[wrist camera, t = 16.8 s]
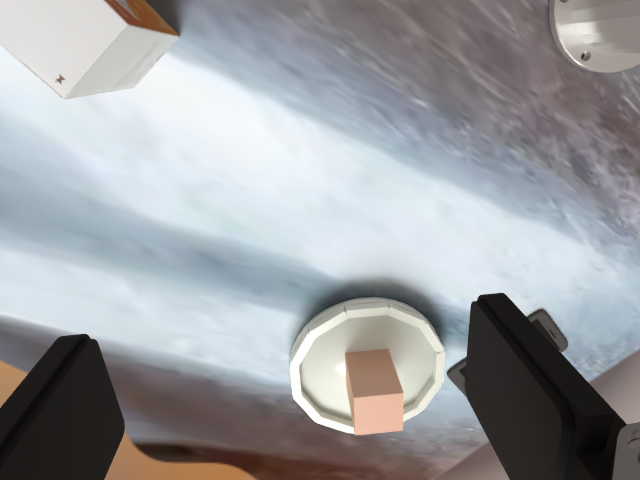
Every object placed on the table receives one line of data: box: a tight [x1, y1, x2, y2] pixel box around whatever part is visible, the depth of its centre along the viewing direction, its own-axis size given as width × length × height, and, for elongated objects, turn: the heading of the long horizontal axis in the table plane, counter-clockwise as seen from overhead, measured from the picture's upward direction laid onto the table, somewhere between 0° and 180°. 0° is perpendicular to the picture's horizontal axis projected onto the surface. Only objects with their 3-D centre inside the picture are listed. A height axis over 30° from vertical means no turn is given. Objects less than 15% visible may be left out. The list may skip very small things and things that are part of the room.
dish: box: [289, 297, 446, 434], centre depth 50 cm, size 18×18×3 cm
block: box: [345, 349, 404, 435], centre depth 46 cm, size 5×5×7 cm
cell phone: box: [447, 310, 568, 397], centre depth 53 cm, size 7×14×1 cm, turn 130°
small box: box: [0, 0, 180, 99], centre depth 30 cm, size 8×6×13 cm
